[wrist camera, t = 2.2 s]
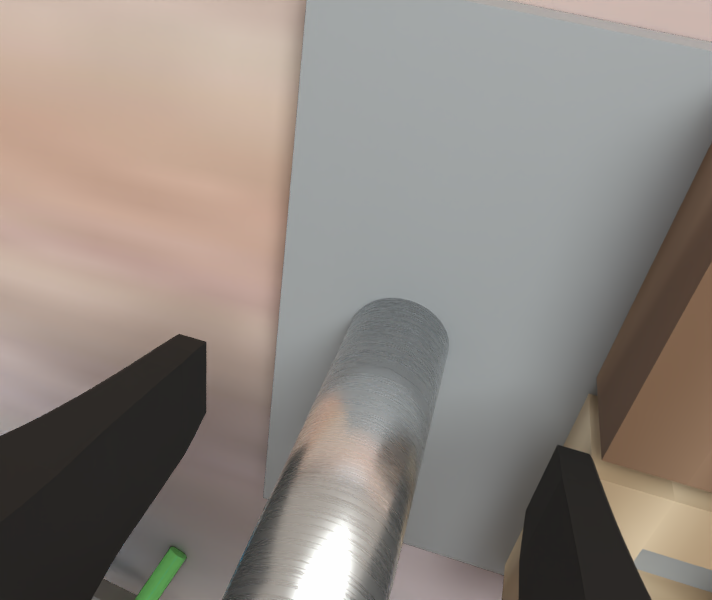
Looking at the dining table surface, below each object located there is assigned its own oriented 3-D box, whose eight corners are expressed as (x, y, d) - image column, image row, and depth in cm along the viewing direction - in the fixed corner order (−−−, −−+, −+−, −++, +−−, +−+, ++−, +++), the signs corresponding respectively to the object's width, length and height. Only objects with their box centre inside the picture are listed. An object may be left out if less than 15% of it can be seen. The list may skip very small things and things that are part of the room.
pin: (459, 314, 14) (375, 670, 8) (436, 390, 16) (350, 747, 9) (357, 286, 15) (198, 609, 8) (343, 363, 16) (199, 690, 10)
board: (1317, 165, 10) (1369, 185, 9) (792, 643, 19) (800, 671, 18) (323, -37, 12) (309, -32, 11) (272, 478, 21) (262, 497, 20)
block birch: (917, 485, 14) (977, 590, 12) (753, 644, 18) (777, 742, 16) (588, 393, 15) (592, 477, 13) (504, 564, 19) (497, 648, 17)
